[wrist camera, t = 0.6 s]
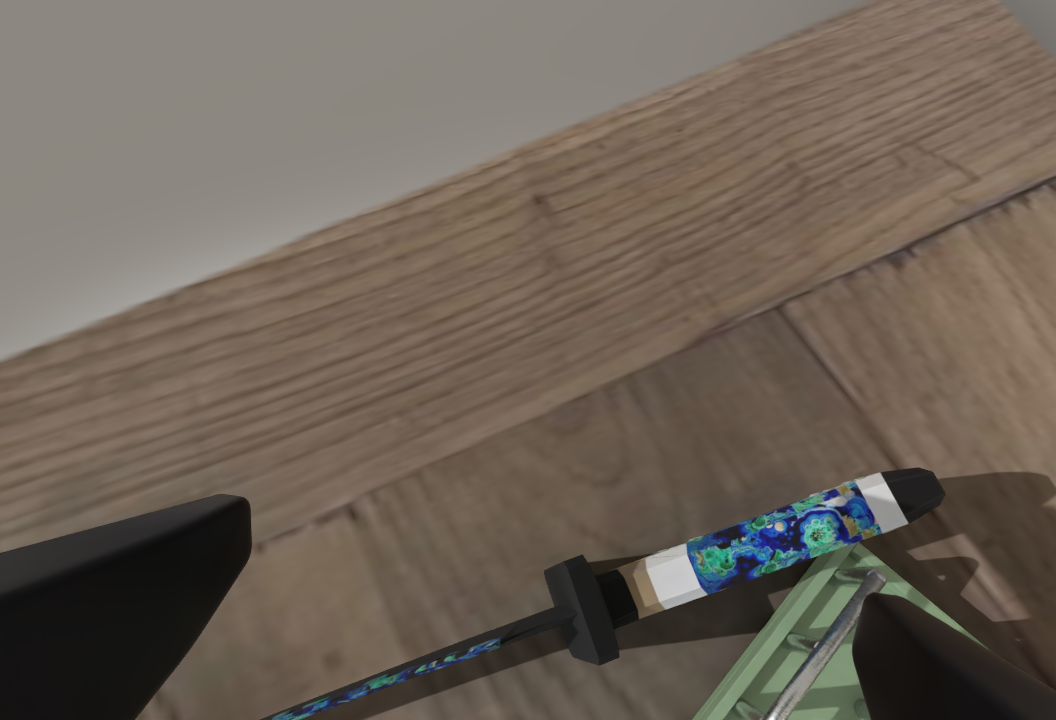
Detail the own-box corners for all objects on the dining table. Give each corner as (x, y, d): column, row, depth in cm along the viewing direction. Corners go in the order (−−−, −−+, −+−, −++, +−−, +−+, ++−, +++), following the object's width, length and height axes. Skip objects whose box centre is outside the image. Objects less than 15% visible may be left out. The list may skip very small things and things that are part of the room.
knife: (879, 470, 22) (938, 448, 18) (920, 554, 21) (994, 552, 16) (118, 698, 24) (8, 727, 19) (120, 786, 22) (4, 837, 18)
